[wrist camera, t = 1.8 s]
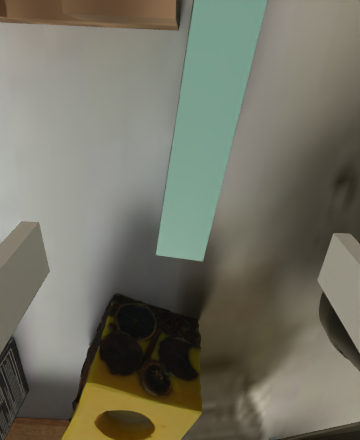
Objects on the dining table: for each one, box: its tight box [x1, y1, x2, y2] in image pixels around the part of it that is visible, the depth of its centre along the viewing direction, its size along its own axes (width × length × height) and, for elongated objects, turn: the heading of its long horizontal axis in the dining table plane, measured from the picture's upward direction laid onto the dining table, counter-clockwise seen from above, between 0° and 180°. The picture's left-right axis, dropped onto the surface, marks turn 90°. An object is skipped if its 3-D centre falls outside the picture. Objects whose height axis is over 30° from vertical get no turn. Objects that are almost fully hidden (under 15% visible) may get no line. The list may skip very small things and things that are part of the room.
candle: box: [61, 294, 202, 440], centre depth 30 cm, size 10×10×10 cm
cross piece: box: [156, 0, 267, 261], centre depth 19 cm, size 14×3×8 cm, turn 171°
